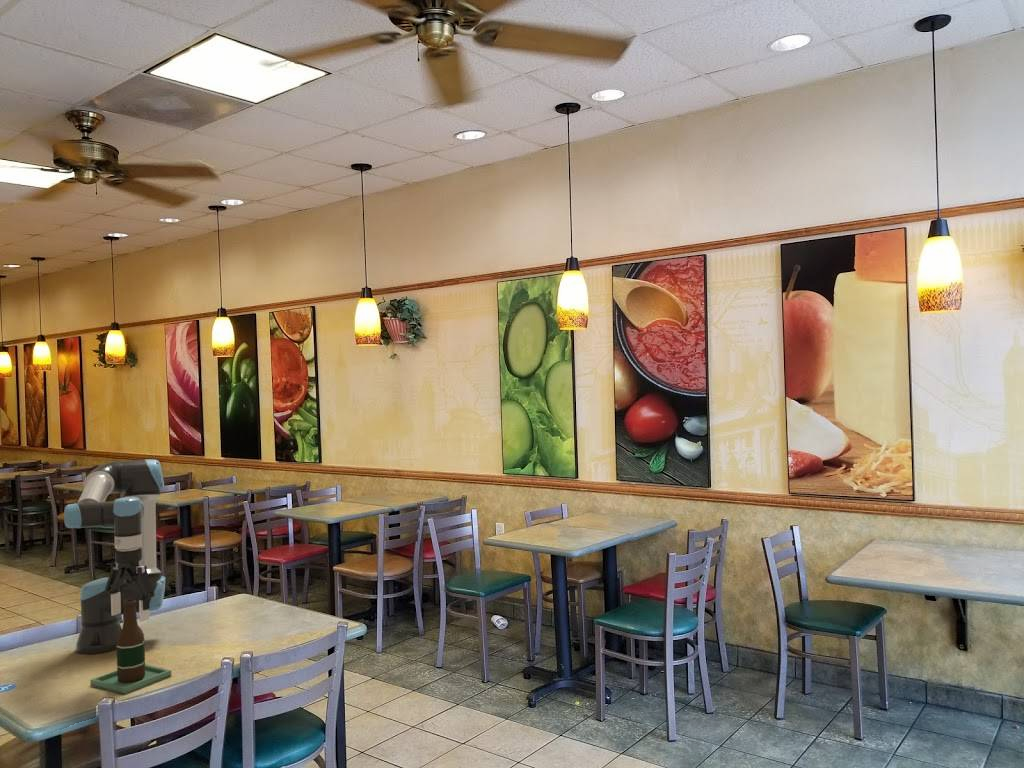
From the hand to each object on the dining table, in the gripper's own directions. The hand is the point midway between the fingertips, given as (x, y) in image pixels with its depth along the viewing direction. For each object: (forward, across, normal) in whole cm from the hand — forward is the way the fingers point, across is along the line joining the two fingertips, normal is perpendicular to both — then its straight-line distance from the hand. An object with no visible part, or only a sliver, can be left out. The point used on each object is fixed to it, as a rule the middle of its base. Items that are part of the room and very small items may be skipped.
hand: (130, 617), depth 239 cm
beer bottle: (+19, 0, 0) cm, 19 cm away
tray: (+19, +1, 0) cm, 19 cm away
